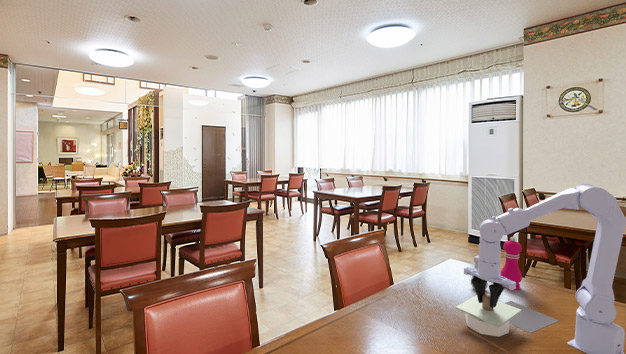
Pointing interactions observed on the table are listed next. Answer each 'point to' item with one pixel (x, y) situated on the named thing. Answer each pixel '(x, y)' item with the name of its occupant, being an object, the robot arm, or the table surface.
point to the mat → (529, 318)
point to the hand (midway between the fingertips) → (487, 304)
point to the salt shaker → (476, 268)
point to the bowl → (486, 326)
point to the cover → (489, 310)
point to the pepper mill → (512, 262)
